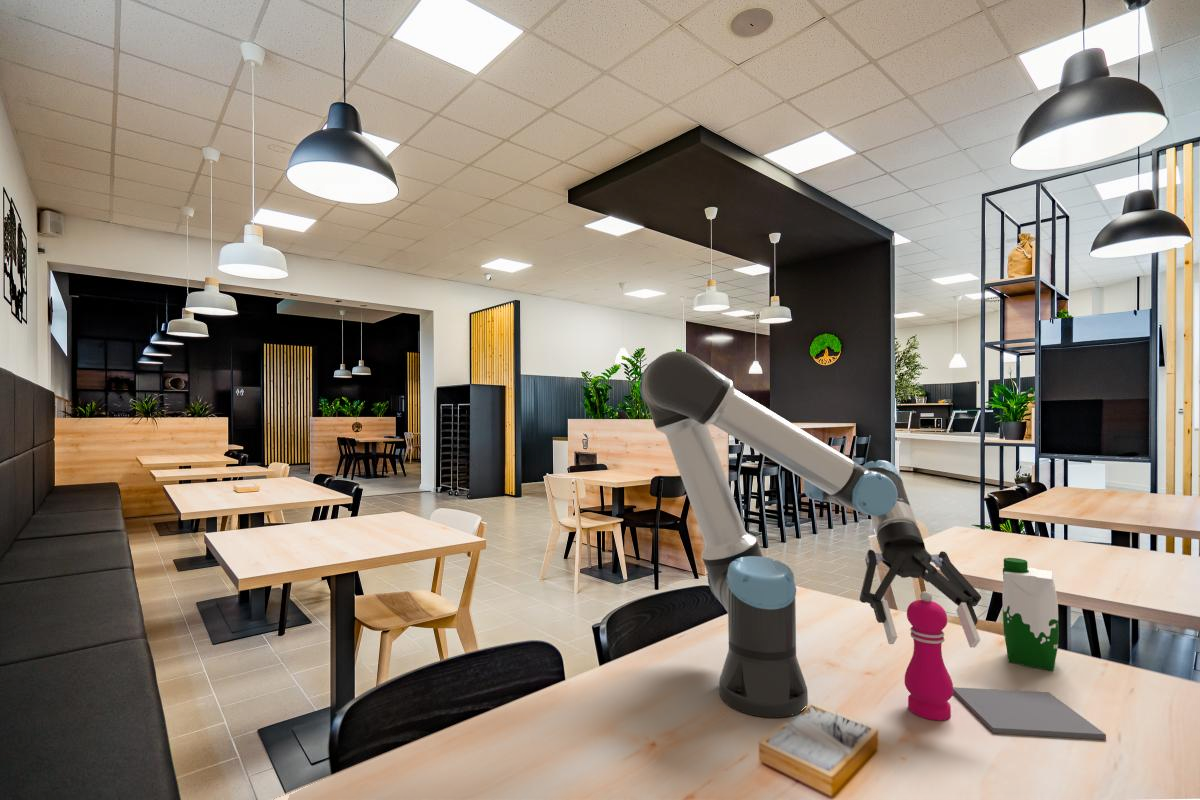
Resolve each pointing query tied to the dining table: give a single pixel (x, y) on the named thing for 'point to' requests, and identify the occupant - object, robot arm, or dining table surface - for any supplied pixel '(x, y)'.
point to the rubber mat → (1026, 713)
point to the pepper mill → (928, 661)
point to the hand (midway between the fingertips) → (933, 642)
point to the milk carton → (1030, 615)
